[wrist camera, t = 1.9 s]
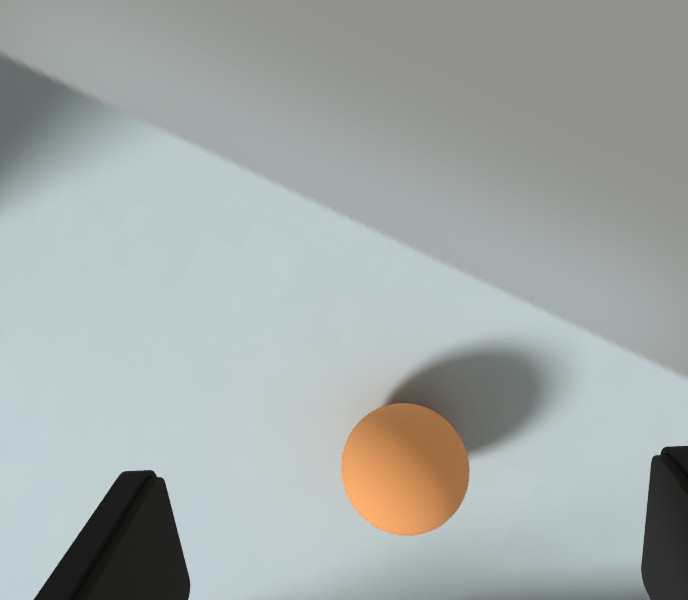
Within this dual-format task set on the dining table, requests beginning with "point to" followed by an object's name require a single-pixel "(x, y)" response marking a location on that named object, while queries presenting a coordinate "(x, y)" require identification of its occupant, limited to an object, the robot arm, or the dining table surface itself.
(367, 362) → the dining table surface
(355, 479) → the ball
